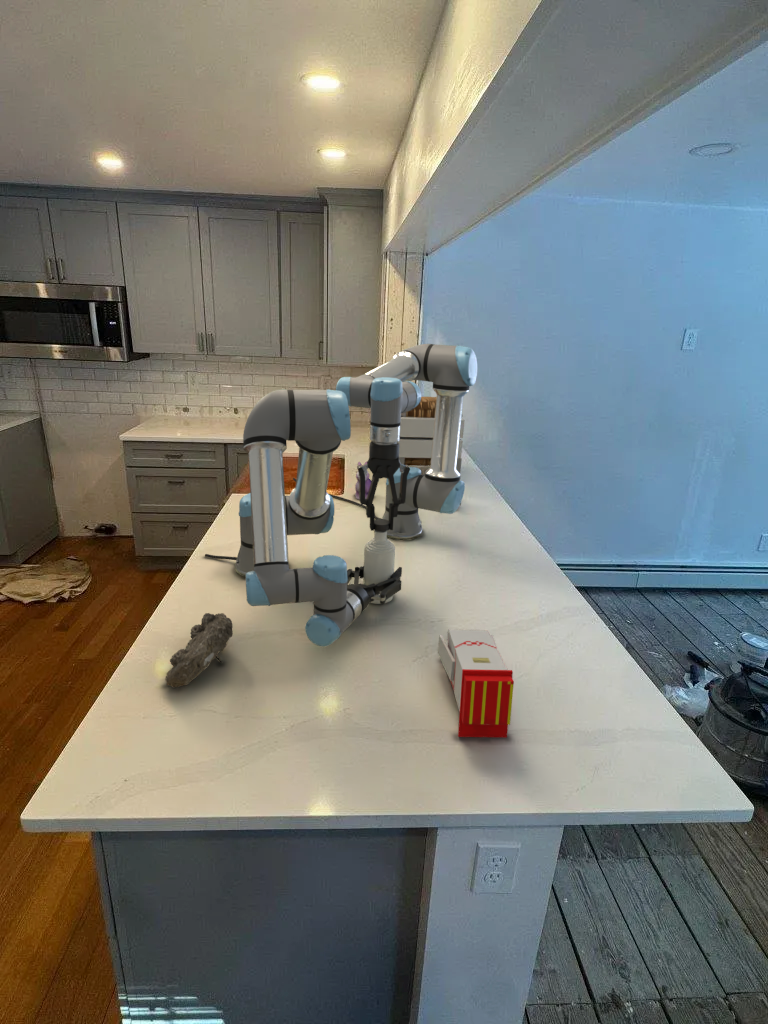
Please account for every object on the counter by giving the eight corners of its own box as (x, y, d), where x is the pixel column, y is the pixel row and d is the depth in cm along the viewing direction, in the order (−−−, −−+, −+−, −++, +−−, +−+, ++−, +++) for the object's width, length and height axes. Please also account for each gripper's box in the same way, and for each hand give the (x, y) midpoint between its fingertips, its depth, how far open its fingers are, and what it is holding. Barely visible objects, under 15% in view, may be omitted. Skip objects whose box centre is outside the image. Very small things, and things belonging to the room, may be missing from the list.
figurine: (359, 501, 230) (360, 466, 225) (349, 494, 239) (349, 459, 234) (379, 499, 235) (381, 464, 230) (369, 491, 243) (370, 458, 238)
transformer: (382, 463, 289) (386, 382, 275) (445, 464, 293) (451, 384, 279) (390, 482, 257) (394, 392, 243) (460, 483, 261) (468, 394, 247)
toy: (488, 613, 130) (523, 677, 101) (484, 667, 133) (517, 744, 104) (435, 612, 130) (455, 676, 101) (432, 666, 133) (451, 743, 103)
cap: (377, 532, 147) (377, 526, 146) (370, 526, 150) (370, 520, 150) (392, 530, 149) (392, 523, 148) (384, 524, 152) (385, 518, 152)
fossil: (188, 616, 134) (233, 586, 129) (216, 643, 137) (261, 615, 132) (144, 681, 114) (195, 649, 109) (178, 711, 117) (230, 682, 112)
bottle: (369, 587, 161) (371, 522, 154) (396, 593, 158) (400, 527, 152) (358, 600, 154) (360, 533, 147) (386, 606, 151) (390, 538, 144)
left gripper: (311, 607, 143) (351, 572, 163) (388, 627, 136) (420, 588, 155) (311, 580, 141) (351, 548, 160) (389, 600, 133) (422, 563, 153)
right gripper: (351, 445, 136) (349, 534, 145) (422, 445, 139) (416, 533, 147) (348, 438, 143) (346, 523, 151) (415, 438, 146) (410, 522, 154)
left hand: (385, 568), depth 158 cm, fingers closed on bottle, 8 cm apart
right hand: (381, 528), depth 149 cm, fingers closed on cap, 4 cm apart
